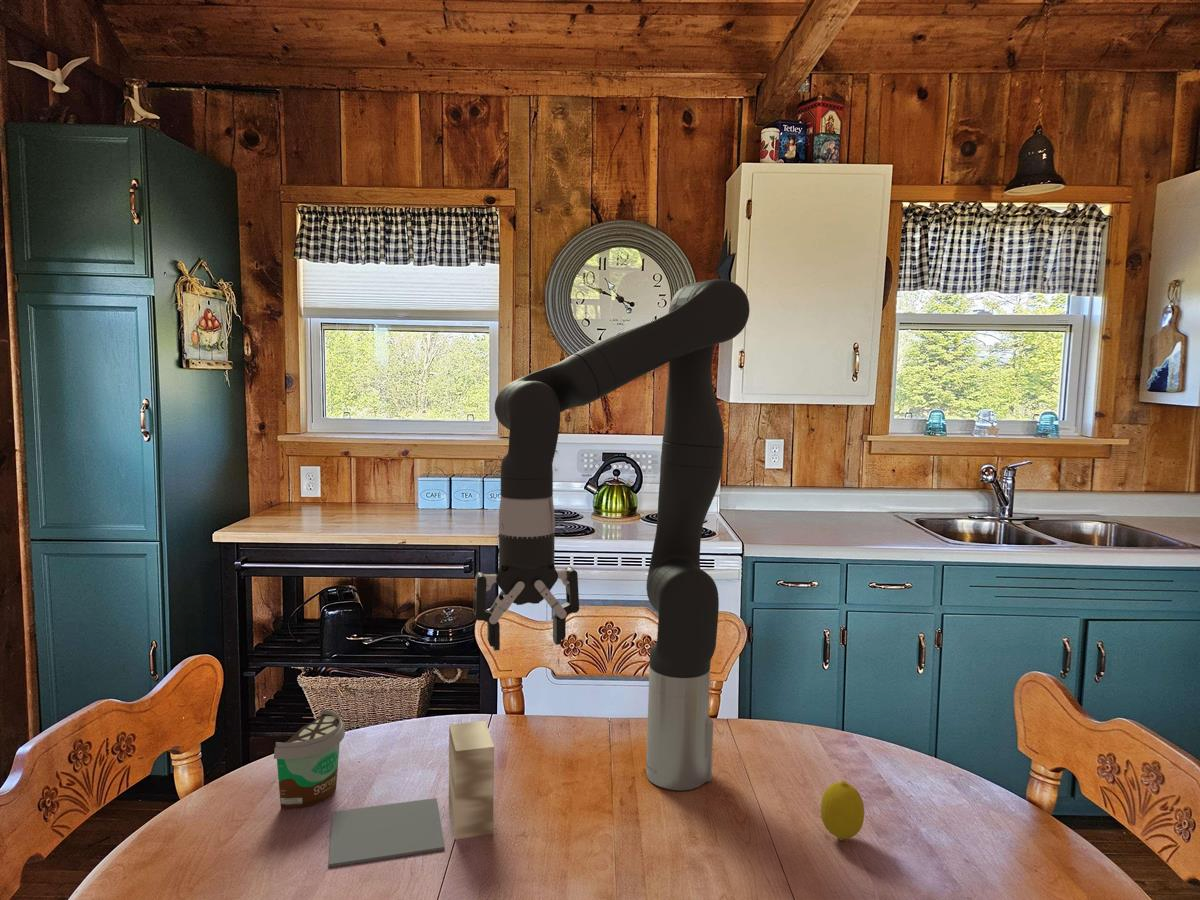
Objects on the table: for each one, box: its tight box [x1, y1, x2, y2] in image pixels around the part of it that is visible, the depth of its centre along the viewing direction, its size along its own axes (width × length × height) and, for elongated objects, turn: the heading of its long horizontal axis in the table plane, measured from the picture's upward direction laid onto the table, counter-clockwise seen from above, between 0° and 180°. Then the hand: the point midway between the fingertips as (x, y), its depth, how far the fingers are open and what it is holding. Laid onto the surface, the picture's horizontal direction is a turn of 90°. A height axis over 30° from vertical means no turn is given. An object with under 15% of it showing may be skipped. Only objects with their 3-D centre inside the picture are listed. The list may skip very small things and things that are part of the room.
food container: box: [273, 708, 346, 810], centre depth 110 cm, size 12×6×10 cm, turn 168°
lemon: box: [820, 780, 865, 840], centre depth 102 cm, size 6×6×8 cm
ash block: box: [448, 720, 495, 840], centre depth 104 cm, size 5×8×12 cm, turn 17°
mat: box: [328, 797, 446, 868], centre depth 101 cm, size 14×12×1 cm
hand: (526, 645), depth 105 cm, fingers open, 8 cm apart
